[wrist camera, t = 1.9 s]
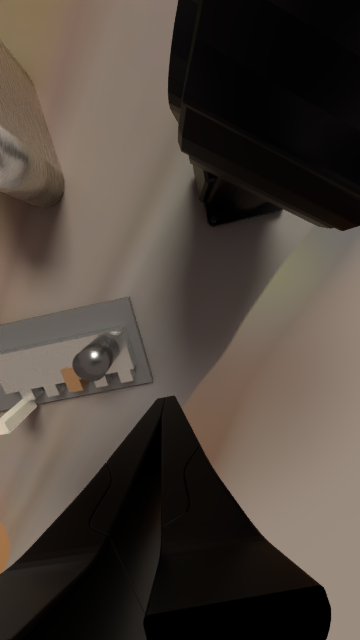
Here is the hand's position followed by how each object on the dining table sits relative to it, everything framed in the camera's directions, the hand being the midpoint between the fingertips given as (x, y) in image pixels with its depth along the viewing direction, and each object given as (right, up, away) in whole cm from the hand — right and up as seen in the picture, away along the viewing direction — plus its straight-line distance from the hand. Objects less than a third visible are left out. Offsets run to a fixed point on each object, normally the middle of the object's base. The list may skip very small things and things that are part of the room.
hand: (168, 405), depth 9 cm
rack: (-11, -1, +11) cm, 15 cm away
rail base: (-13, 0, +11) cm, 17 cm away
